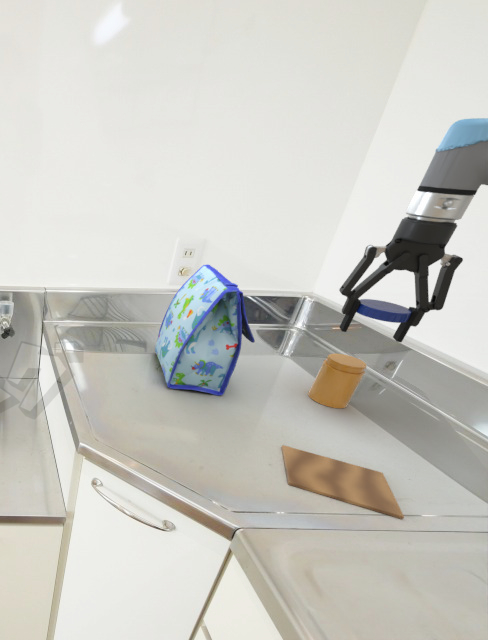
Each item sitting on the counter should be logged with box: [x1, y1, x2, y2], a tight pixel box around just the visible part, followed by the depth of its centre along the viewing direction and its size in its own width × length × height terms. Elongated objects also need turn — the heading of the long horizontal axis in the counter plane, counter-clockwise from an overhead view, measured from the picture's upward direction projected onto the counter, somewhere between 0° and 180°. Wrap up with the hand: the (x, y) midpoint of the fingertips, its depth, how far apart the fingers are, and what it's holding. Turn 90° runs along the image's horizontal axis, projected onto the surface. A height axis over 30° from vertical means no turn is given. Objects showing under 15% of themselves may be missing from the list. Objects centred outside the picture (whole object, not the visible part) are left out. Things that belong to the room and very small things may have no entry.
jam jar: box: [307, 353, 367, 409], centre depth 99 cm, size 8×8×11 cm
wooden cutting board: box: [281, 444, 405, 520], centre depth 76 cm, size 16×12×1 cm
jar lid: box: [356, 298, 412, 324], centre depth 84 cm, size 8×8×2 cm
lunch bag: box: [154, 264, 256, 397], centre depth 104 cm, size 22×17×26 cm
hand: (369, 334), depth 87 cm, fingers closed on jar lid, 8 cm apart
